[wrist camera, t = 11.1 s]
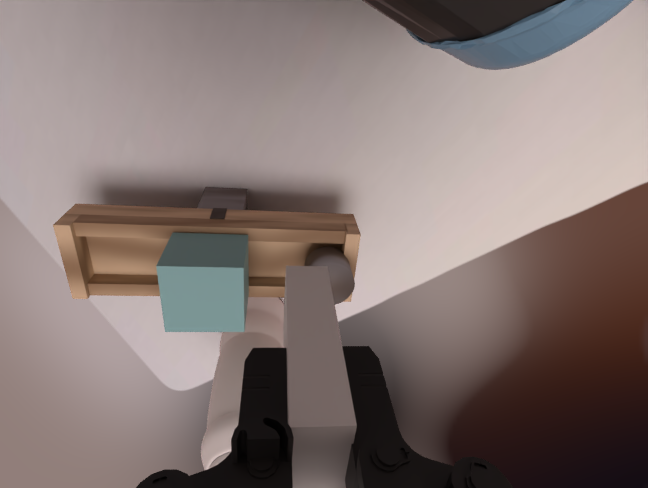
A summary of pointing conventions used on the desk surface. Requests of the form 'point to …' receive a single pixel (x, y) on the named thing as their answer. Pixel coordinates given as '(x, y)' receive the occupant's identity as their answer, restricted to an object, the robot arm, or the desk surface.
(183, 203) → the desk surface
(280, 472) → the robot arm
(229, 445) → the white bottle
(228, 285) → the block
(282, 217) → the beam
